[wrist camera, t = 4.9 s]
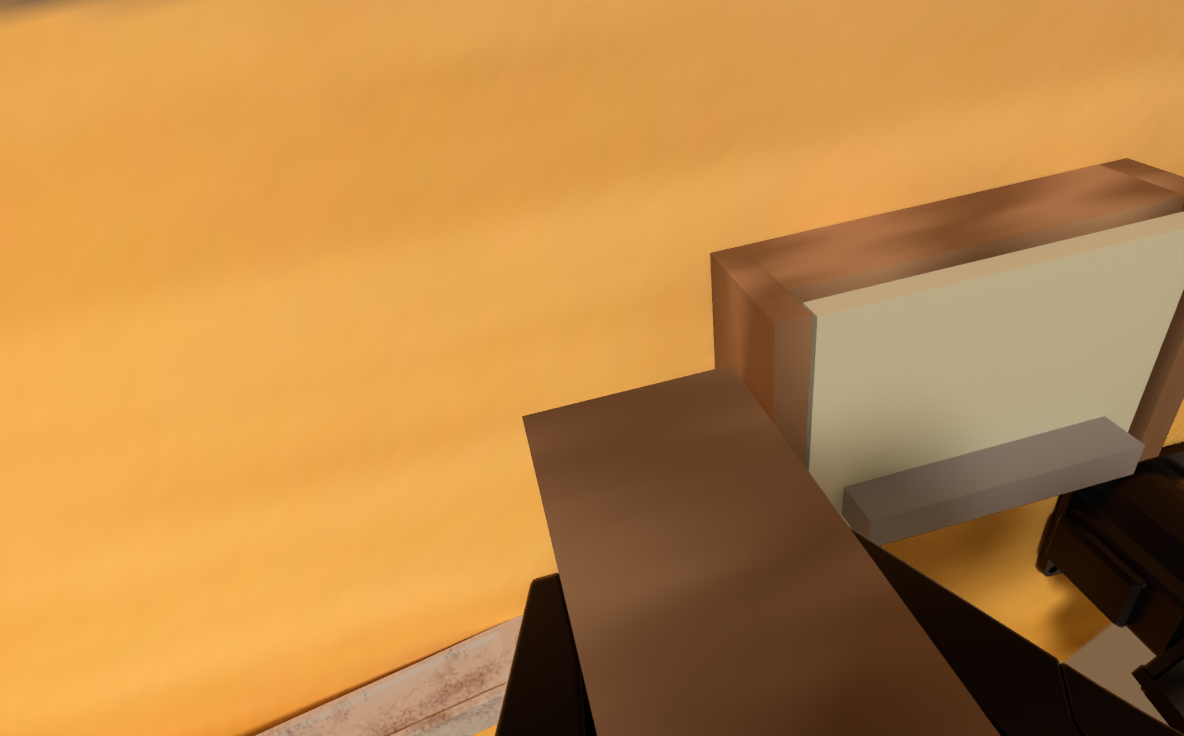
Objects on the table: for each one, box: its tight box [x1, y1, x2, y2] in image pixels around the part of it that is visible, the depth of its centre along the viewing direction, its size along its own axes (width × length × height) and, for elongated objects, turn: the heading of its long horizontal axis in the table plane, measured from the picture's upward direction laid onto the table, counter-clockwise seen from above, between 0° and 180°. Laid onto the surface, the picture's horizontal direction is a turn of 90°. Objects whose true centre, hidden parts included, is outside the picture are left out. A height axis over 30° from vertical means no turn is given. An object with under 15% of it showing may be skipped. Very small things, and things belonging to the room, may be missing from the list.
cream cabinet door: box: [803, 212, 1184, 546], centre depth 20 cm, size 11×8×2 cm
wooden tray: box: [710, 158, 1184, 466], centre depth 22 cm, size 14×9×4 cm, turn 98°
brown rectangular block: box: [522, 365, 1000, 736], centre depth 8 cm, size 3×3×7 cm
